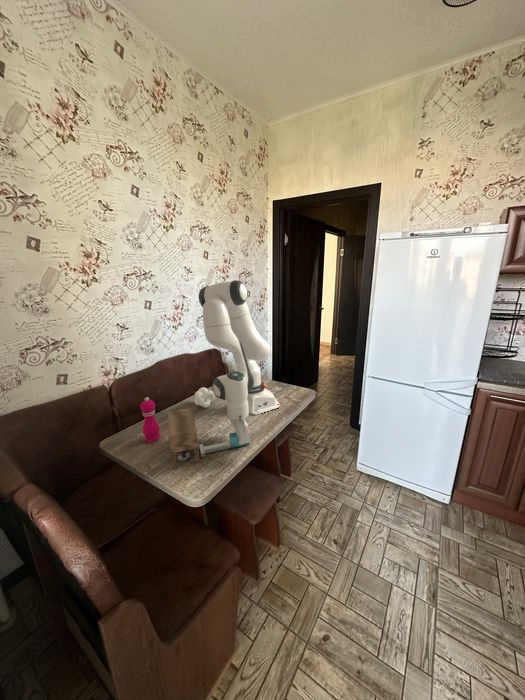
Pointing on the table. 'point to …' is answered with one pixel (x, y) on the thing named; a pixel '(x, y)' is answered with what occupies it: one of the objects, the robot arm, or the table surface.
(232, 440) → the block
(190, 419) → the wooden bench
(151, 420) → the pepper mill
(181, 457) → the silver flat dome
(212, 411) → the table surface
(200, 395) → the white knot
